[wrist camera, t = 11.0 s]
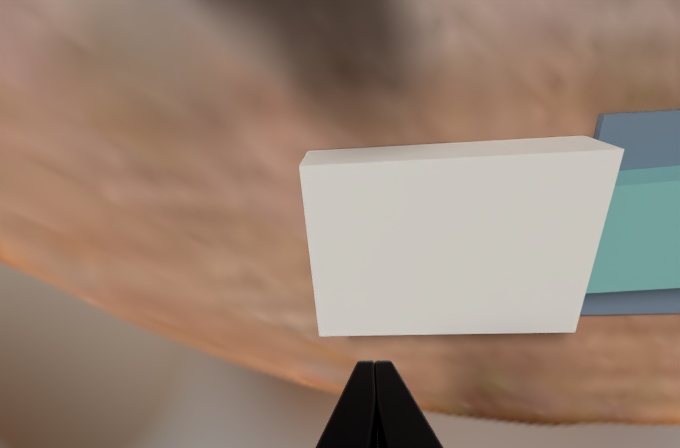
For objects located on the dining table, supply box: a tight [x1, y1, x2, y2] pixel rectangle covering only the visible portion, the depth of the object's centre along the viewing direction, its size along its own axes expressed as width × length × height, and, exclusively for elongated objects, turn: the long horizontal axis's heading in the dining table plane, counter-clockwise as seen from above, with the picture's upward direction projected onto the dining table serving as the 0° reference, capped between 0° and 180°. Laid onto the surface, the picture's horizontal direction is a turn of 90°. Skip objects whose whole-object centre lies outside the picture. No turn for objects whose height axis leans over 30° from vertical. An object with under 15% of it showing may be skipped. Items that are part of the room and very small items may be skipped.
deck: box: [299, 136, 625, 336], centre depth 19 cm, size 14×10×3 cm
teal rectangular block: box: [586, 165, 680, 293], centre depth 18 cm, size 9×6×2 cm, turn 96°
